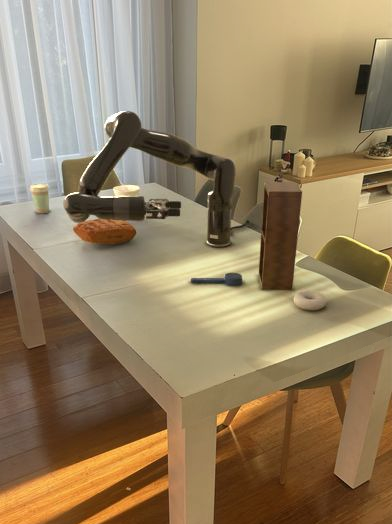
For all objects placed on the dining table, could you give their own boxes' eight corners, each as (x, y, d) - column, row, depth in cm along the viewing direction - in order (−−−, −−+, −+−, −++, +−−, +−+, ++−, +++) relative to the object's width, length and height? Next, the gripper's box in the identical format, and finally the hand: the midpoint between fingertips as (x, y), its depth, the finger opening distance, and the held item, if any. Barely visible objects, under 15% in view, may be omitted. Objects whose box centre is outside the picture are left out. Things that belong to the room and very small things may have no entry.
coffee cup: (49, 214, 250) (46, 187, 244) (31, 214, 250) (27, 187, 244) (54, 209, 257) (50, 183, 251) (36, 208, 258) (32, 183, 251)
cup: (127, 210, 256) (125, 183, 250) (146, 214, 250) (145, 187, 244) (109, 216, 248) (107, 188, 242) (129, 220, 242) (127, 192, 236)
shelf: (261, 289, 178) (268, 191, 162) (258, 275, 188) (264, 181, 172) (292, 289, 178) (302, 191, 162) (287, 275, 188) (296, 182, 172)
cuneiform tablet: (89, 253, 206) (87, 232, 202) (72, 240, 219) (69, 221, 215) (140, 242, 217) (139, 223, 213) (121, 231, 229) (120, 212, 225)
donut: (287, 307, 166) (318, 315, 162) (288, 297, 165) (319, 304, 160) (300, 296, 174) (330, 302, 169) (301, 286, 172) (331, 292, 167)
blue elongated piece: (190, 285, 180) (190, 278, 179) (190, 278, 185) (190, 271, 184) (242, 286, 180) (242, 279, 179) (241, 279, 185) (241, 272, 184)
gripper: (125, 202, 162) (179, 202, 162) (130, 190, 174) (181, 190, 175) (127, 227, 166) (180, 227, 166) (132, 213, 178) (181, 213, 178)
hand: (180, 208), depth 170 cm, fingers open, 8 cm apart
